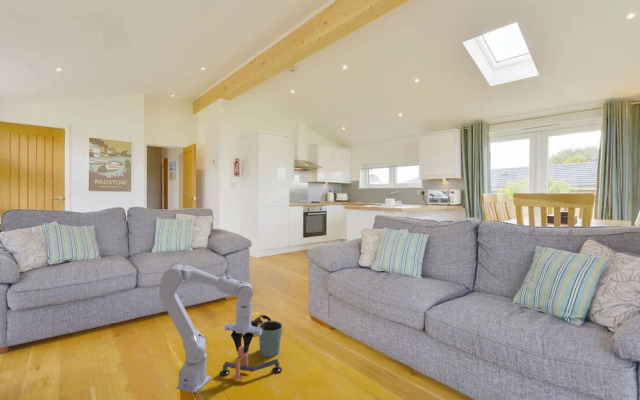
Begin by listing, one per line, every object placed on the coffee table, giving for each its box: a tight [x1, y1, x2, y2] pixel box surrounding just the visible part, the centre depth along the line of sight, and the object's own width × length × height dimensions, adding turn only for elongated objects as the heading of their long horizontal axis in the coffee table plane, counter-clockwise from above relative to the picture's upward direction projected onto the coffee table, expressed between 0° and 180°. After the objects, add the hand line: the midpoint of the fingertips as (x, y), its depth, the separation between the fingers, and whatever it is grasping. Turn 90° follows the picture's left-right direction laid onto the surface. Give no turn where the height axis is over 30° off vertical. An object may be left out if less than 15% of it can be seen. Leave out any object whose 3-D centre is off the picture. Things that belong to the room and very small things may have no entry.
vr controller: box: [251, 314, 272, 328], centre depth 155 cm, size 12×10×8 cm
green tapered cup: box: [258, 320, 283, 358], centre depth 135 cm, size 10×10×12 cm
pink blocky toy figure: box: [230, 345, 249, 381], centre depth 116 cm, size 4×7×10 cm, turn 166°
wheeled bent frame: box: [219, 358, 282, 377], centre depth 119 cm, size 12×22×4 cm, turn 76°
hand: (242, 351), depth 116 cm, fingers closed on pink blocky toy figure, 2 cm apart
